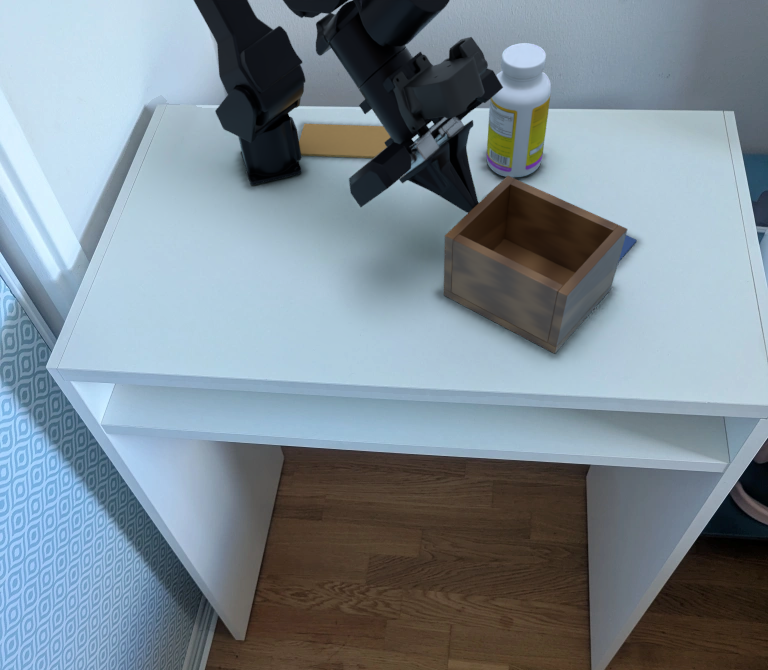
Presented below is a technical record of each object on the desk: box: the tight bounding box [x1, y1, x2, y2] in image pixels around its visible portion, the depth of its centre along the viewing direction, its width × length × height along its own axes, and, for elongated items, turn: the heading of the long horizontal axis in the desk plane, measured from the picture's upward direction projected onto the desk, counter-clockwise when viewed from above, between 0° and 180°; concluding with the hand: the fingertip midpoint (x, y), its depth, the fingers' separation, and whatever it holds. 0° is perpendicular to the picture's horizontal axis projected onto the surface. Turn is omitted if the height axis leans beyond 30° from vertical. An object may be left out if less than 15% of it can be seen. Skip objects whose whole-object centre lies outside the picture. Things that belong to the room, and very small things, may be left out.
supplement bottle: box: [486, 42, 552, 178], centre depth 86 cm, size 7×7×13 cm
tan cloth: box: [299, 123, 390, 159], centre depth 95 cm, size 12×6×1 cm, turn 82°
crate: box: [443, 176, 628, 354], centre depth 78 cm, size 14×11×8 cm
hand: (474, 210), depth 77 cm, fingers closed, pressing on crate
